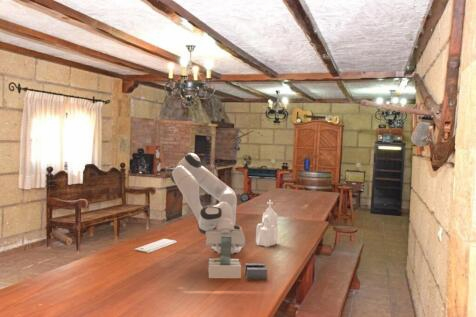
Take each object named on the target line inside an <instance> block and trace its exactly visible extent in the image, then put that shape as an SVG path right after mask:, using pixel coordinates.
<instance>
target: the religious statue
mask: <svg viewBox="0 0 476 317" xmlns="http://www.w3.org/2000/svg"><path fill="white" fill-rule="evenodd" d="M266 204H267V205H268V207H267V208H266V210H265V211H264V212H263V213H262V217H261V218H262V219H261V223H257V225H256V229H255V230H256V231H255V243H256V246H261V247H266V248H268V247H271V246H274V245H276V244H277V243H278V232H279V228H278V217H279V214H278V213H277V212H276V211H274V209H273V207H272V206H273V205H274V202H273V201H272V199H268V201H266Z"/></svg>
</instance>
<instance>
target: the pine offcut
mask: <svg viewBox="0 0 476 317" xmlns="http://www.w3.org/2000/svg"><path fill="white" fill-rule="evenodd" d="M213 259H214V262H220V257H213Z"/></svg>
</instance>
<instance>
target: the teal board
mask: <svg viewBox="0 0 476 317" xmlns="http://www.w3.org/2000/svg"><path fill="white" fill-rule="evenodd" d="M231 256H232V254H231V236H221V254H220V256H219V258H220V265H230V261H231V259H232V258H231Z"/></svg>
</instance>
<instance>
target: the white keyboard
mask: <svg viewBox="0 0 476 317" xmlns="http://www.w3.org/2000/svg"><path fill="white" fill-rule="evenodd" d="M176 243H177V241H176V240H175V239H168V238H162V239H159V240H156V241H154V242H151V243H148V244H145V245H142V246H139V247H135V248H134V251H136V252H141V253H147V254H151V253H153V252H155V251H158V250H160V249H163V248H165V247H169V246H171V245H173V244H176Z"/></svg>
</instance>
